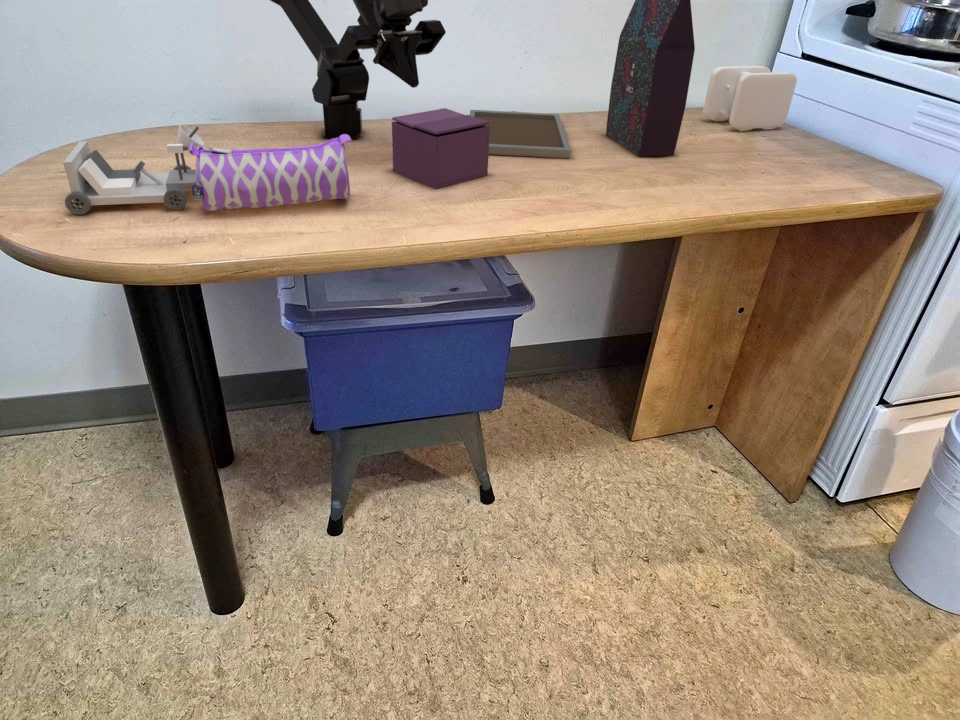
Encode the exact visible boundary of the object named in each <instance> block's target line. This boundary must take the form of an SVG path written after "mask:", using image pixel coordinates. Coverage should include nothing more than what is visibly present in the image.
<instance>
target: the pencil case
mask: <svg viewBox="0 0 960 720" xmlns="http://www.w3.org/2000/svg"><path fill="white" fill-rule="evenodd" d="M350 142H352V139H351V138H350V136H349V135H347V134H342V135H340V136H339V138H329V140H327V141H324V142H321V143H316V144H312V145H311V144H310V145H301V146H288V147H286V146H285V147H270V148H269V147H261V148H229V149H227V148H221V147H211V145H206V144H204V145H202V146H200V147H198V148H193V146H194V143H193V142H192V143H191V144H190V148H189V150H188V152H189V154H190V155H192V156H195V169H196V180H197V185H192V189H191V192H192V199H193V200H195V201H199V200H201V202H202V205H203V208H204V210H205V211H207V212H214V211H229V210H237V209H259V208H260V209H261V208H272V207H281V206H288V205H289V206H290V205H299V204H300V205H301V204H308V203H315V202H323V201H329V200H330V201H331V200H346V199H348V198H350V196H351V186H350V177H349V176H350V175H349V169H348V162H347V157H346V146H345V144H346V143H347V144H348V143H350ZM196 186H197V188H195V187H196Z"/></svg>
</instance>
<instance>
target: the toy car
mask: <svg viewBox="0 0 960 720" xmlns="http://www.w3.org/2000/svg"><path fill="white" fill-rule="evenodd" d="M199 130H200V127H199V126H196V127H195V128H194V129H191V128H189V126H187V125H185V124H183V123H179V125H178V129H177V135H176V136H177V137H176V143H167V145H166V149H167V154H174V155H175V161H176V166H175V167H174V168H173V169H171V170H170V171H169V172H154V173H153V172H152V173H151V172H149V171H148V170H147V169H145V168H144V167H145V165H146V162H144V161H143V160H140V161H139V163H137V165H136V166H135V167H134V168H133V169H131V168H130V169H113V168H112V167H111V165H110V164H109V163H108V162H107V161H106V159H105V158H104V157H103V155H102V154H101V153H100V152H99V151H98V150H97V149H95V150H93V151H91V149H90V145H89V143H88V140H79V141H78V142H77V143H76V145H75V146H74V147H73V149H72V150H71V151H70V153H69V154H68V156H66V158H65V159H64V160H63V161H62V164H63V167H64V171H65V174H66V178H67V181H68V185H69V189H70V191H71V192H70V193H68V194H67V196H66V197H65V198H64V206H65V207H66V209H67V210H68V211H69V212H70V213H72V214H74V215H85V214H87V213H88V212H89V211H90V210H91V207H92V206H109V205H110V206H111V205H132V204H150V203H151V204H156V203H158V204H159V203H164V204H165V206H166V207H167V208H169V209H170V210H172V211H181V210H183V209H185V207H186V206H187V204H188V196H187V194H186V193H185V191H186V190H191V191H192V185H197V180H196V168H195V169H193V168H191V167H190V166H189V165H187V164H186V161H185V155H184V153H185V151H189V148H190V144H191V143H192V142H193V143H194V146H193V148H196V149H198V148H199V147H200V146H202V147H203V146H205V142H204V140H203V139H202V138H201V136H200V135H198V134H197V133H198V131H199ZM179 154H180V156H179ZM180 159H181V161H180ZM195 188H197V186H196V187H195Z"/></svg>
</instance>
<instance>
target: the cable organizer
mask: <svg viewBox="0 0 960 720" xmlns="http://www.w3.org/2000/svg"><path fill="white" fill-rule="evenodd" d="M797 83H798V78H797V75H796V74H795V73H791V72H788V71H778V72H777V71H775V72H771V69H770V68H769V67H767V66H763V65H730V66H727V65H725V66H722V65H721V66H717V67H716V68H714V69H713V70H712V71H711V74H710V75H709V81H708V86H707V90H706V95H705V100H704V104H703V109H702V114H703V116H704V117H705V118H707V119H710V120H711V121H713V122H726V121H727V120H728V123H729V126H730V127H732V128H734V129H736V131H738V132H746V131H752V130H753V129H761V130H765V131H766V130H775V129H776V128H779V127H781V126H783V125H784V123H785V122H786V121H787V118H788V115H789V113H790V112H789V111H790V109H791V104H792V101H793V96H794V93H795V90H796V86H797Z"/></svg>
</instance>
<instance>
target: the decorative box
mask: <svg viewBox="0 0 960 720" xmlns="http://www.w3.org/2000/svg"><path fill="white" fill-rule="evenodd" d="M694 35H695V34H694V23H693V13H692V3H691V0H634V2H633V4H632V7H631V9H630V11H629V13H628V16H627V18H626V20H625V22H624V25H623V27H622V28H621V31H620V33H619V38H618V44H617V49H616V55H615V61H614V68H613V73H612V80H611V86H610V93H609V101H608V112H607V119H606V128H605V136H606V137H607V138H610V140H612V141H614V142H616V143H617V144H619V145H620V146H622V147H623V148H625V149H627V150H628V151H630V152H631V153H633V154H634V155H636V156H637V157H639V158H643V157H662V156H663V157H664V156H666V157H667V156H674V155H675V152H676V148H677V143H678V139H679V135H680V132H681V127H682V122H683V119H684V114H685V110H686V107H687V106H686V105H687V101H688V94H689V88H690V83H691V76H692V70H693V69H692V68H693V63H694V56H695V51H696V47H695V36H694Z"/></svg>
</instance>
